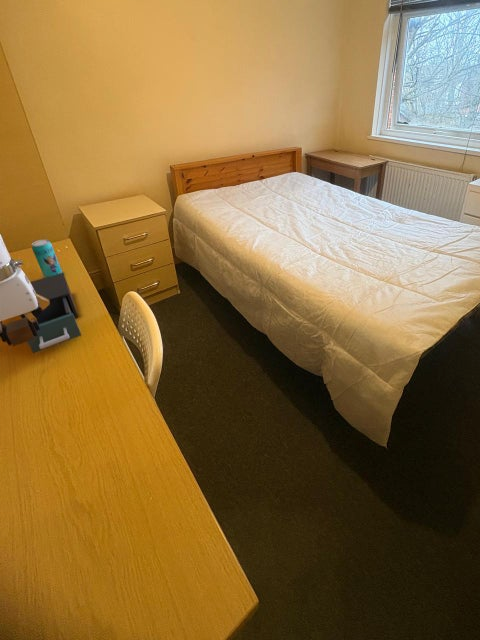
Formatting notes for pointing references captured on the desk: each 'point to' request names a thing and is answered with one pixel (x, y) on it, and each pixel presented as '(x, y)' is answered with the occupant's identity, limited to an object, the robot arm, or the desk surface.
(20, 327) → the block
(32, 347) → the drawer
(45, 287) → the cabinet
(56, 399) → the desk surface
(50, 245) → the beverage can
